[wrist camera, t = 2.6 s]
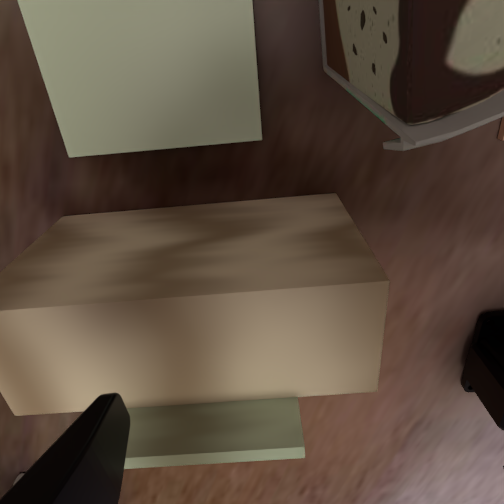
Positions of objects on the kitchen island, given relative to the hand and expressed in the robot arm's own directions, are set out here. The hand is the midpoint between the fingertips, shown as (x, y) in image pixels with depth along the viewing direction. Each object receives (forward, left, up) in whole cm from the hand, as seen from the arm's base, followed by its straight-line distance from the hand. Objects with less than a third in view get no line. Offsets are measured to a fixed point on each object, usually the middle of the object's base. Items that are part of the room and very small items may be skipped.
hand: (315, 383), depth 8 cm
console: (+4, +2, -12) cm, 13 cm away
